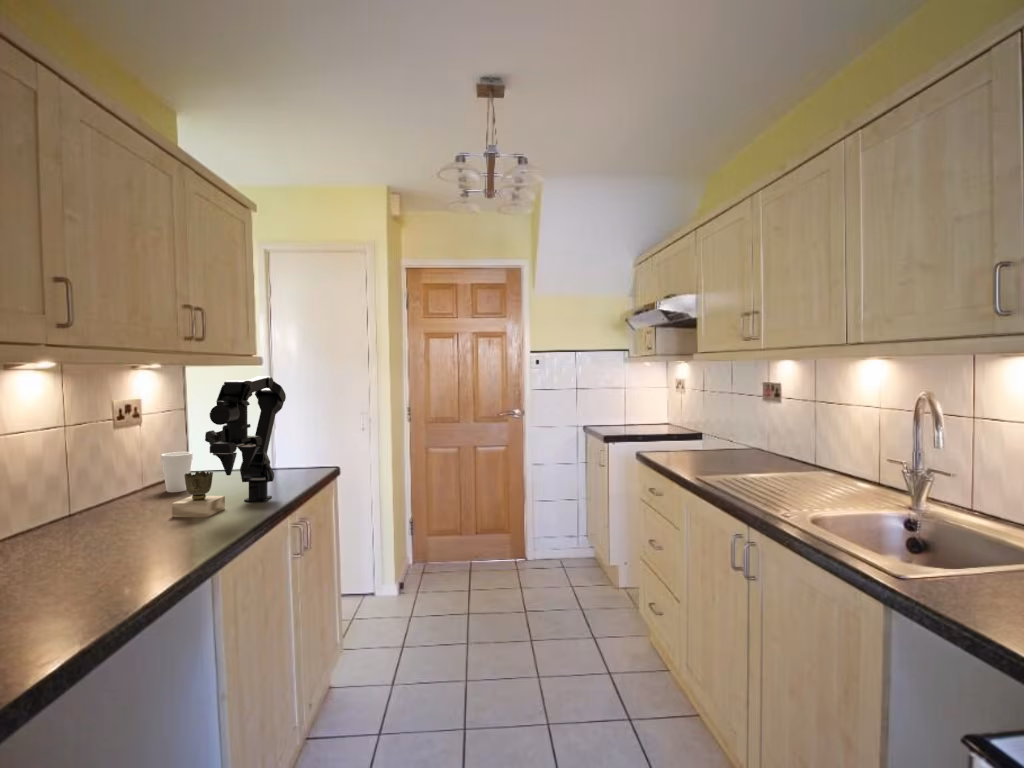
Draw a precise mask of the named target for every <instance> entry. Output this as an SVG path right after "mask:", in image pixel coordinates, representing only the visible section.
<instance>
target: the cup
mask: <svg viewBox="0 0 1024 768" xmlns="http://www.w3.org/2000/svg"><path fill="white" fill-rule="evenodd" d="M213 475H214V473H213V471H210V472H209V471H205V470H202V471H200V472H199V471H198V470H196V472H195V473H193V474H192V473H191V472H190V473H189V474H185V483H186V489H187V490H186V492H187V493H188V494H189V495H190V496H192V499H193V500H196V501H198V500H203V499H205V498H206V496H207V495H206V494H208V493H209V492H210V491H211V488H212V485H213V484H212V483H213Z"/></svg>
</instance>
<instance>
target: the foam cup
mask: <svg viewBox="0 0 1024 768" xmlns="http://www.w3.org/2000/svg"><path fill="white" fill-rule="evenodd" d="M193 453H194V452H191V451H174V452H165V453H162V454H161V455H160V462H161V464H162V472H163V476H164V484H165V488H166V492H167V493H181V492H187V489H186V483H185V474H189V473H191V470H192V461H193V456H194V455H193Z"/></svg>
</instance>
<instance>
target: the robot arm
mask: <svg viewBox="0 0 1024 768" xmlns="http://www.w3.org/2000/svg"><path fill="white" fill-rule="evenodd" d="M253 393H254V396H255V398H256V399H257V405H258V406H259V409H260V413H259V418H258V422H257V425H256V430H255V433H254V435H248V430H249V428H251V423H248V406H250V404H251V403H250V402H249V398H251V397H252V396H253ZM286 395H287V394H286V392H285V390H284V389H283V387H282V386H281V385H280V384H278V382H276V381H275V380H274V379H273V377H272V376H269V375H267V376H266V375H262V376H261V375H260V376H259V375H258V376H256V377H253V378H249V379H246V380H243V379H242V380H239V379H238V380H235V379H234V380H232V379H230V380H229V379H227V380H225V381H224V382H223V384H222V386H221V388H220V390H219V393H218V396H217V399H216V405H214V406H213V407H212V408H211V409H210V412H209V418H210V421H211V422H212V423H213V424H215V425H216V426H217V425H218V426H221V425H223V426H222V427H221V428H222V430H219V431H215V430H209V431H206V432H205V434H204V435H205V436H204V442H206V443H208V444H209V454H212V455H213V456H215V457H217V458H218V459H219V460H220V461H221V464H222V467H223V470H224V472H225V475H226V476H231V475H232V472H233V469H234V466H235V462H236V458H237V454H238V453H237V452H236V451H237V449H238V451H240V452H241V458H242V462H241V465H240V467H239V473H240V476H241V477H240V479H241V482H242V483H248V497H247V498H245V499H243V502H254V503H255V502H256V503H257V502H260V503H263V502H266V501H267V500H270V499H271V498H273V496H272V495H268V487H269V486H268V485H269V483H270V482H274V480H275V472H274V470H273V468H272V466H271V460H270V457H269V455H268V451H269V446H270V441H271V436H272V433H273V428H274V423H275V419H276V415H277V414H278V413H279V412H280V411H281V410H282V409H283V406H284V402H285V401H286V400H287V399H286V398H287V397H286Z"/></svg>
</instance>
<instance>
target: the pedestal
mask: <svg viewBox="0 0 1024 768" xmlns="http://www.w3.org/2000/svg"><path fill="white" fill-rule="evenodd" d="M192 496H193V495H190V496H188V497H185V498H182V499H180V500H177V501H174V502H172V503H171V515H172V516H171V517H172V518H208V517H210V516H212V515H214V514H216V513H219V512H221V511H223V510H226V500H225V499H226V497H225V496H226V495H206V498H205V499H203V500H198V501H196V500H193V499H192Z"/></svg>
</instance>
